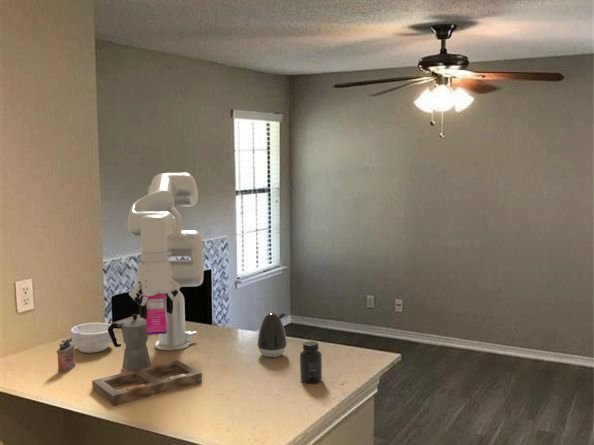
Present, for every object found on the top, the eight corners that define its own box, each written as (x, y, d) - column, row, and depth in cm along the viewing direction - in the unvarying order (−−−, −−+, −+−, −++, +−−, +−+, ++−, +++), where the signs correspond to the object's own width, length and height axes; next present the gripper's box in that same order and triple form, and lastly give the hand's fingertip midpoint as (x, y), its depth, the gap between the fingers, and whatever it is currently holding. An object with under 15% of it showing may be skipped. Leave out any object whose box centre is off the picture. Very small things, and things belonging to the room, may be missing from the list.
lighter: (64, 373, 212) (63, 343, 211) (55, 373, 213) (53, 343, 212) (77, 365, 220) (76, 336, 219) (68, 364, 221) (67, 335, 219)
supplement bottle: (324, 377, 208) (324, 341, 206) (318, 385, 201) (318, 347, 200) (304, 375, 210) (304, 339, 208) (297, 382, 204) (297, 345, 202)
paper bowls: (122, 349, 236) (121, 328, 235) (81, 358, 227) (80, 336, 226) (104, 339, 248) (103, 319, 247) (64, 348, 238) (63, 327, 237)
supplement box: (148, 328, 197) (147, 291, 196) (168, 328, 198) (167, 291, 196) (145, 334, 192) (144, 296, 190) (166, 333, 192) (165, 295, 191)
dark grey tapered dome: (292, 356, 228) (292, 313, 226) (267, 362, 223) (267, 318, 221) (277, 348, 237) (276, 307, 235) (252, 354, 231) (251, 312, 229)
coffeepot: (154, 359, 225) (153, 308, 223) (158, 368, 217) (157, 315, 214) (108, 365, 220) (106, 313, 218) (110, 374, 211) (108, 320, 209)
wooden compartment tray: (177, 368, 216) (177, 358, 216) (201, 382, 204) (201, 371, 204) (92, 390, 198) (91, 379, 198) (113, 406, 186) (113, 394, 186)
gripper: (174, 251, 200) (175, 307, 203) (121, 258, 189) (123, 318, 191) (187, 255, 195) (188, 312, 197) (133, 262, 183) (135, 323, 186)
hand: (156, 314), depth 194 cm, fingers closed on supplement box, 7 cm apart
